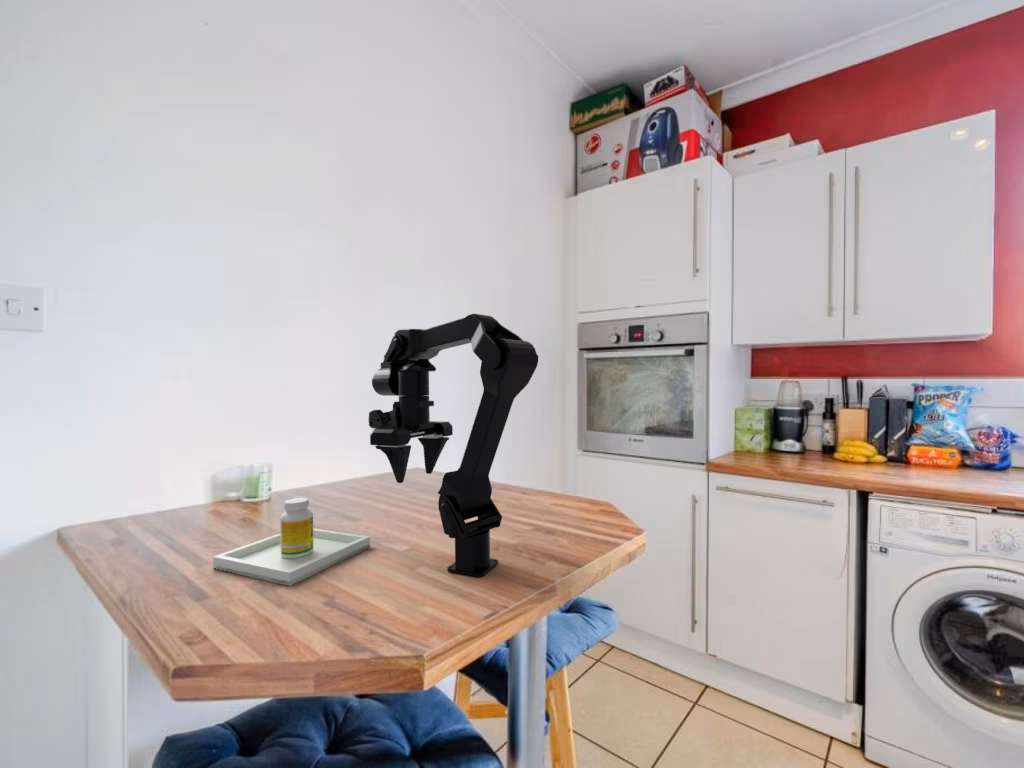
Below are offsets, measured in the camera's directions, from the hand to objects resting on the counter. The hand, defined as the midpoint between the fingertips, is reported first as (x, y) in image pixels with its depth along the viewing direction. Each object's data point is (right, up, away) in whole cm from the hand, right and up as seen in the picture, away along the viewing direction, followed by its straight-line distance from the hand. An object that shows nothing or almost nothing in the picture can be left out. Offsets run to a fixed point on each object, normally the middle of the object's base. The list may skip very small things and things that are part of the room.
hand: (415, 477), depth 86 cm
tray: (-20, -13, -5) cm, 25 cm away
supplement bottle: (-20, -13, -5) cm, 24 cm away
